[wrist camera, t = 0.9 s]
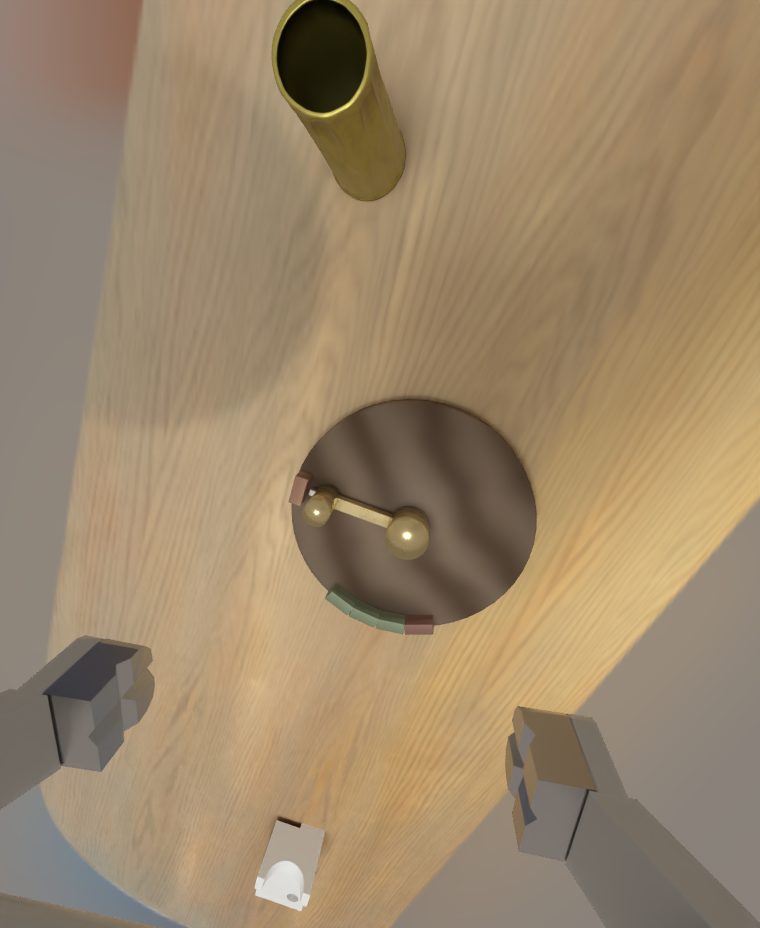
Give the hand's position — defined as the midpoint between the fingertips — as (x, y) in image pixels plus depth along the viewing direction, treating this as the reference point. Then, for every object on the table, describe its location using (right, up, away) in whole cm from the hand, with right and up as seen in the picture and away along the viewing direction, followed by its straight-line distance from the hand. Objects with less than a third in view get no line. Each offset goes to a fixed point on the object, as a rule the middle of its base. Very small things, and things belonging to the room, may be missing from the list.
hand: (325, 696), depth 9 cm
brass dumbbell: (0, +1, +33) cm, 33 cm away
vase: (0, +30, +26) cm, 39 cm away
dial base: (+4, 0, +35) cm, 35 cm away
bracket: (-12, -52, +55) cm, 76 cm away
